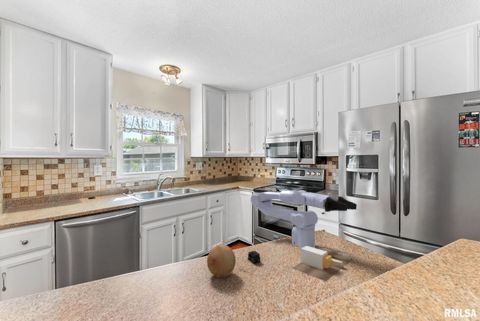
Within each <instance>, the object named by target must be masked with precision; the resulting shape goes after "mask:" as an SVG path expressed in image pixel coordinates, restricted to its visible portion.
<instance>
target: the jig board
mask: <svg viewBox="0 0 480 321" xmlns="http://www.w3.org/2000/svg"><path fill="white" fill-rule="evenodd" d="M317 249H320V250H323V251H327V255H330V256H332V265H331V266H330V267H329V268H324V269H323V270H321V269H318V268H315V267H313V266H310V265H307V264H304V263H301V262H300V263H298V264H296V265H295V266H292V269H294V270H295V271H298V272H301V273H304V274H306V275H308V276H311V277H313V278H316V279H319V280H321V281H324V282H327V281H329V280H330V278H332V277H333V276H334V275H335V274H337V273H338V272H339V271H340V270H341V269H343V268H344V267H345V266H346V265H348V263H350V262H351V261H352V260H353V258H352V255H351V254H348V253H344V252H340V251H338V250H337V251H336V250H334V249H330V248H326V247H322V246H319V247H317Z"/></svg>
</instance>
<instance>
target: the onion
mask: <svg viewBox="0 0 480 321" xmlns="http://www.w3.org/2000/svg"><path fill="white" fill-rule="evenodd" d="M236 263H237V260H236V255H235V252H234V251H233V249H232V248H231V247H230V246H228V245H227V244H222V243H220V244H218V245H216V246H214V247H213V248H212V249H211V250H210V251H209V253H208V254H207V258H206V265H207V269H208V271H209V272H210V273H211V275H213V276H214V277H217V278H225V277H227V276H229V275H230V274H231V273H233V271H234V270H235V267H236Z"/></svg>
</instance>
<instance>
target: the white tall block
mask: <svg viewBox="0 0 480 321" xmlns="http://www.w3.org/2000/svg"><path fill="white" fill-rule="evenodd" d="M300 256H301V258H300V261H301V262H300V263H304V264H307V265H310V266H313V267H315V268H318V269H321V270H323V269H324V268H329V267H330V266H331V265H332V256H330V255H327V251H323V250H320V249H318V248H317V247H315V248H313V247H309V246H305V247H303V248H300Z"/></svg>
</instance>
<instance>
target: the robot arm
mask: <svg viewBox="0 0 480 321" xmlns="http://www.w3.org/2000/svg"><path fill="white" fill-rule="evenodd" d="M272 200H280V202H282V203H289V204H295V206H298V205H299V206H300V205H303V206H304V205H305V206H308V207H312V208H317V209H322V210H324V212H325V213H330V212H333V211H335V212H337V211H338V212H339V211H340V212H346V211H348V210H349V211H350V210H351V211H352V210H357V206H358V204H357V203H356V202H353V201H351V200H348V199H346V198H344V197H343V196H340V195H339V196H338V198H336V197H334V196H333V193H331V192H328V193H327V194H321V193H315V192H310V191H309V192H307V191H306V190H303V189H300V190H297V189H292V190H289V189H288V188H285V189H284V190H283V189H282V190H281V191H280V192H278V191H264V192H258V193H252V194H251V195H250V203H251V204H252V206H253V208H256V209H258V210H259V211H260V212H261V213H262V214H263V215H265V216H268V217H272V218H275V219H279V220H280V219H281V220H284V221H287V222H288V221H289V222H291V224H292V225H294V226H293V227H292V230H291V245H292V246H296V247H298V248H300V249H301V248H303V247H305V246H309V247H313V248H316V236H315V235H316V230H315V228H316V224H317V223H318V221H319V218H318V214H317V213H316V212H315V211H313V210H308V211H303V210H299V211H298V210H293V209H292V210H291V209H288V208H283V207H278V206H274V205H273V202H272Z"/></svg>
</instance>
